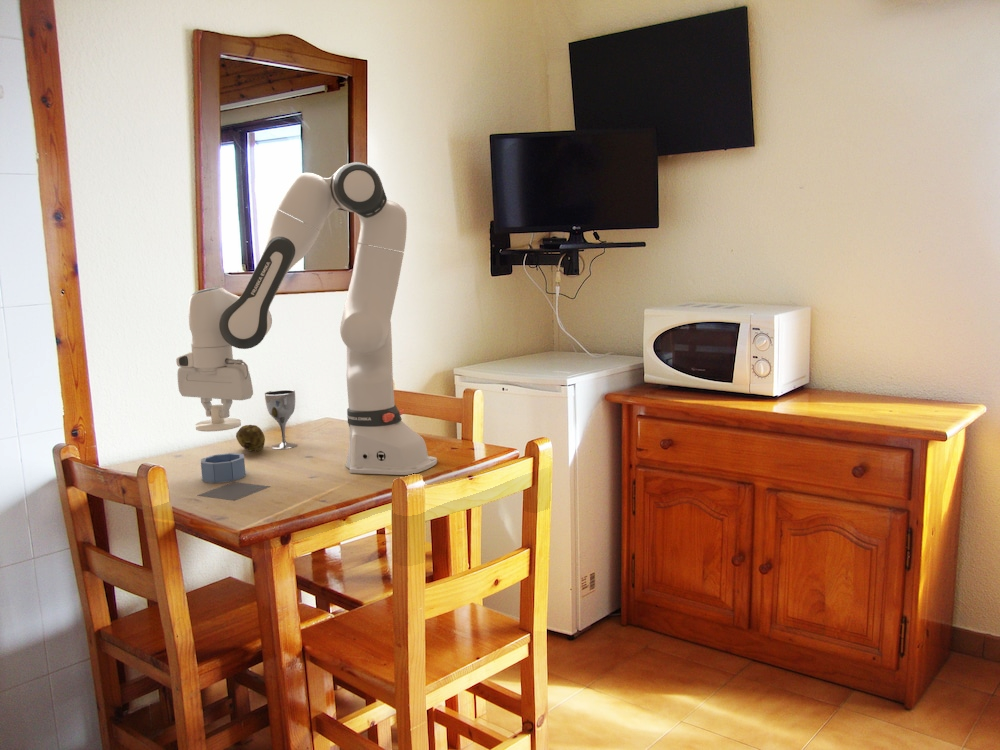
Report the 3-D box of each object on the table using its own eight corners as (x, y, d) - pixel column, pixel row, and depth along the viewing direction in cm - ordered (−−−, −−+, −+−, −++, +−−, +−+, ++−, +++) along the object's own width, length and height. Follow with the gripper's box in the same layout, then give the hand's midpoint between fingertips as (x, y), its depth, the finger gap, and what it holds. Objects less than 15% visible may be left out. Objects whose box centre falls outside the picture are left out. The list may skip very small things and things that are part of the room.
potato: (273, 445, 229) (271, 417, 228) (262, 457, 216) (259, 427, 215) (243, 447, 229) (240, 418, 228) (229, 458, 216) (226, 428, 215)
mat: (270, 488, 187) (270, 486, 187) (234, 502, 177) (234, 500, 177) (234, 483, 192) (233, 481, 192) (197, 497, 182) (197, 495, 182)
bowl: (254, 475, 198) (252, 455, 198) (224, 486, 190) (222, 465, 189) (224, 472, 203) (222, 452, 202) (194, 482, 194) (191, 461, 194)
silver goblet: (263, 448, 226) (258, 394, 223) (281, 442, 233) (276, 389, 231) (287, 450, 223) (283, 395, 220) (305, 443, 230) (300, 389, 228)
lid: (250, 423, 197) (248, 403, 196) (218, 432, 188) (216, 411, 187) (218, 421, 201) (216, 400, 200) (186, 429, 192) (184, 408, 191)
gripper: (256, 357, 190) (261, 417, 192) (191, 355, 199) (197, 411, 201) (236, 361, 185) (241, 422, 187) (170, 358, 194) (176, 417, 196)
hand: (217, 417), depth 194 cm, fingers closed on lid, 3 cm apart
